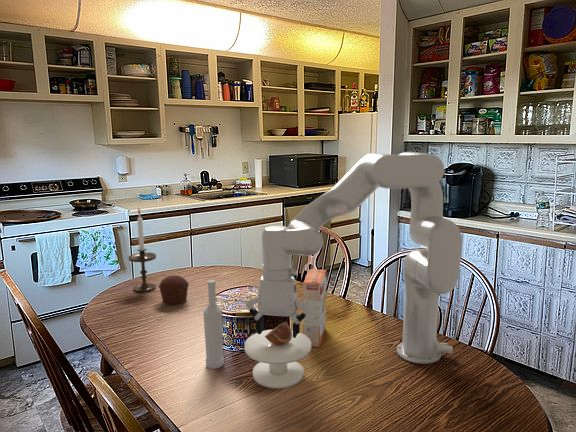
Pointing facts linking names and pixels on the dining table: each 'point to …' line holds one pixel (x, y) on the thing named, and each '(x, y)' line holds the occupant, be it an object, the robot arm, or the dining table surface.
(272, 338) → the fruit slice
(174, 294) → the muffin
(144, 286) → the candlestick
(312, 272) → the cracker box
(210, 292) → the bottle
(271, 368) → the cake stand
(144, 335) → the dining table surface
